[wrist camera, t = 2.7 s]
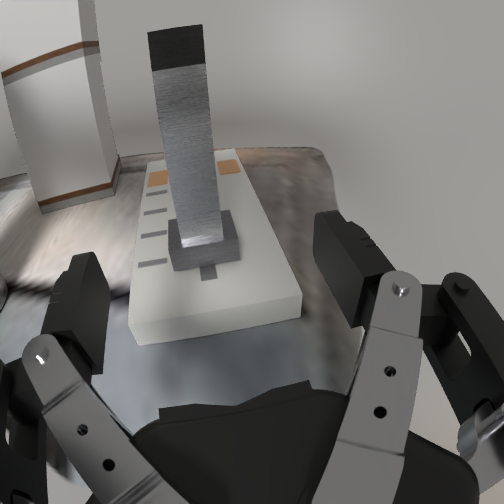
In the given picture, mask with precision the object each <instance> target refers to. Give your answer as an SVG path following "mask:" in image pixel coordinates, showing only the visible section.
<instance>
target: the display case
mask: <svg viewBox="0 0 504 504" xmlns="http://www.w3.org/2000/svg"><path fill="white" fill-rule="evenodd" d="M100 62H101V57H100V49H99V41H98V33H97V25H96V14H95V4H94V0H0V68H1V74H2V79H3V85H4V90H5V94H6V99H7V103H8V108H9V112H10V116H11V120H12V124H13V128H14V131H15V135H16V138H17V142H18V145H19V148H20V152H21V155H22V158H23V161H24V165H25V167H26V170H27V174H28V177H29V179H30V182H31V185H32V188H33V191H34V193H35V196H36V199H37V201H38V204H39V207H40V209H41V212H42V214H45V213H48V212H52V211H55V210H59V209H63V208H66V207H70V206H74V205H78V204H81V203H85V202H89V201H93V200H97V199H101V198H106V197H110V196H114V195H115V191H116V186H117V182H118V178H119V174H120V170H121V161H120V157H119V155H118V154H117V150H116V146H115V141H114V136H113V132H112V128H111V122H110V117H109V112H108V107H107V102H106V96H105V90H104V85H103V79H102V72H101V66H100Z"/></svg>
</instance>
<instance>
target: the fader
mask: <svg viewBox="0 0 504 504" xmlns="http://www.w3.org/2000/svg"><path fill="white" fill-rule="evenodd" d="M148 43H149V50H150V60H151V68H152V76H153V83H154V91H155V98H156V105H157V112H158V118H159V124H160V131H161V137H162V142H163V149H164V155H165V161H166V166H167V172H168V177H169V182H170V188H171V193H172V198H173V203H174V208H175V213H176V219H170V220H168V251H169V255H170V259H171V263H172V266H173V270H174V271H180V270H186V269H192V268H198V267H204V266H209V265H215V264H221V263H227V262H233V261H238V260H240V249H239V238H238V235H237V232H236V228H235V225H234V222H233V219H232V216H231V212H230V210H224V211H220V203H219V194H218V185H217V176H216V166H215V157H214V147H213V138H212V129H211V118H210V108H209V97H208V87H207V74H206V63H205V51H204V39H203V26H202V24H200V25H192V26H184V27H177V28H170V29H164V30H158V31H153V32H148Z"/></svg>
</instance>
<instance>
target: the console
mask: <svg viewBox="0 0 504 504" xmlns="http://www.w3.org/2000/svg"><path fill="white" fill-rule="evenodd" d="M214 157H215V166H216V176H217V185H218V194H219V203H220V211H224V210H230V212H231V216H232V219H233V222H234V225H235V228H236V232H237V235H238V238H239V249H240V260H238V261H233V262H227V263H221V264H215V265H209V266H204V267H198V268H192V269H186V270H180V271H174V270H173V266H172V263H171V259H170V255H169V251H168V220H170V219H176V213H175V208H174V203H173V198H172V193H171V188H170V182H169V177H168V172H167V166H166V161H165V159H164V160H159V161H153V162H148V165H147V171H146V176H145V182H144V187H143V193H142V200H141V206H140V213H139V219H138V227H137V234H136V242H135V250H134V259H133V268H132V278H131V289H130V302H129V316H128V326H129V328H130V330H131V332H132V334H133V335H134V337H135V339H136V341H137V343H138V345H139V346H142V345H149V344H156V343H163V342H170V341H176V340H183V339H189V338H195V337H201V336H207V335H213V334H218V333H224V332H229V331H235V330H240V329H245V328H251V327H256V326H261V325H266V324H270V323H275V322H280V321H285V320H289V319H294V318H299V317H300V315H301V305H302V295H303V294H302V291H301V289H300V287H299V285H298V283H297V280H296V278H295V276H294V274H293V272H292V270H291V267H290V265H289V263H288V261H287V259H286V257H285V254H284V252H283V250H282V248H281V246H280V244H279V241H278V239H277V237H276V235H275V233H274V231H273V229H272V227H271V224H270V222H269V220H268V218H267V216H266V214H265V212H264V210H263V208H262V205H261V203H260V201H259V199H258V197H257V195H256V193H255V191H254V189H253V187H252V185H251V182H250V180H249V178H248V176H247V174H246V172H245V170H244V168H243V166H242V164H241V162H240V160H239V158H238V156H237V154H236V152H235V150H234V149H228V150H221V151H214Z"/></svg>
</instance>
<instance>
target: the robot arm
mask: <svg viewBox="0 0 504 504" xmlns="http://www.w3.org/2000/svg"><path fill="white" fill-rule="evenodd" d="M313 255H314V259H315V262H316V264H317V266H318V268H319V270H320V271H321V273H322V275H323V277H324V279H325V280H326V282H327V284H328V286H329V288H330V290H331V291H332V293H333V295H334V297H335V299H336V301H337V302H338V304H339V306H340V308H341V310H342V312H343V314H344V316H345V317H346V319H347V321H348V323H349V325H350V327H351V328H355V327H358V326H363V328H364V329H365V333H364V336H363V339H362V343H361V347H360V350H359V354H358V357H357V360H356V364H355V367H354V370H353V374H352V377H351V380H350V383H349V385H348V388H347V391H346V394H345V395H344V394H341V393H337V392H334V391H328V390H319V389H312V387H311V385H310V382H309V380H307V381H303V382H299V383H295V384H291V385H287V386H283V387H279V388H275V389H271V390H269V391H267V392H265V393H263V394H261V395H259V396H257V397H255V398H253V399H250V400H248V401H246V402H244V403H242V404H239V405H236V406H223V405H207V404H189V405H182V406H175V407H167V408H159V418H160V419H157V420H155V421H153V422H151V423H149V424H147V425H146V426H144V427H143V428H141V429H140V430H139V431H138V432H136V433H135V434H134V435H133V433H132V432H131V431H130V430H129V429H128V428H127V427H126V426H125V425H124V424H123V423H122V422H121V420H120V419H119V418H118V417H117V416H116V415H115V413H114V412H113V411H112V410H111V408H110V407H109V406H108V405H107V403H106V402H105V401H104V400H103V398H102V397H101V396H100V394H99V393H98V392H97V391H96V389H95V388H94V387H93V385H92V384H91V377H92V375H97V374H103V363H104V351H105V341H106V331H107V322H108V314H109V307H110V289H109V285H108V283H107V280H106V278H105V276H104V274H103V271H102V269H101V267H100V264H99V262H98V260H97V257H96V255H95V254H94V252H88V253H83V254H78V255H74V256H73V257H72V260H71V263H70V266H69V269H68V271H64V272H63V273H62V274H61V275H60V277H59V278H58V279H57V281H56V282H55V285H54V289H53V292H52V295H51V298H50V301H49V302H50V304H49V305H48V308H47V312H46V315H45V319H44V322H43V326H42V330H41V333H40V335H39V336H37V337H35V338H33V339H32V340H31V341H30V342H29V343H28V344H27V345H26V347H25V349H24V351H23V354H22V357H21V358H19V359H17V360H14V361H12V362H10V363H7V364H4V363H3V361H2V360H1V359H0V504H48V493H47V475H46V474H47V472H46V432H47V424H48V426H49V428H50V429H51V431H52V433H53V434H54V436H55V438H56V439H57V441H58V443H59V444H60V446H61V447H62V449H63V451H64V452H65V454H66V455H67V457H68V458H69V460H70V461H71V463H72V464H73V466H74V467H75V469H76V470H77V472H78V473H79V474H80V476H81V477H82V479H83V480H84V481H85V483H86V484H87V485H88V487H89V488H90V489H91V491H92V492H93V494H92V495H91V496H90V498H89V499H88V501H87V502H86V504H479V495H480V494H481V493H483V492H484V491H486V490H487V489H489V488H490V487H492V486H493V485H495V484H496V483H497V482H499V481H500V480H502V479H503V478H504V321H503V320H502V318H501V317H500V315H499V314H498V313H497V311H496V310H495V308H494V307H493V306H492V304H491V303H490V302H489V300H488V299H487V297H486V296H485V295H484V293H483V292H482V291H481V290H480V288H479V287H478V286H477V284H476V283H475V282H474V281H473V280H472V279H471V278H469V277H468V276H466V275H464V274H461V273H456V272H455V273H449V274H447V275H446V276H445V277H444V279H443V281H442V284H441V285H426V284H420V282H419V281H418V279H416V278H415V277H414V276H413V275H411V274H409V273H407V272H403V271H396V269H395V268H394V267H393V265H392V264H391V263H390V262H389V260H388V259H387V258H386V257H385V255H384V254H383V253H382V251H381V250H380V249H379V248H378V246H376V244H375V243H374V241H373V240H372V239H370V236H369V235H368V234H367V233H366V231H365V230H364V229H363V228H362V227H360V226H358V225H357V224H355V223H353V222H352V221H350V222H346V220H345V219H344V218H343V217H342V215H341V214H340V213H339V212H338V211H337V210H333V211H326V212H320V213H316V215H315V222H314V237H313ZM6 296H7V284H6V282H5V280H4V279H3V277H2V275H1V274H0V310H1V309H2V307H3V305H4V302H5V300H6ZM459 331H460V332H461V334H462V336H463V337H464V339H465V341H466V342H467V344H468V346H469V347H470V350H471V356H470V354H469V353H468V351H467V349H466V348H465V346H464V344H463V343H462V341H461V339H460V338H459V336H458V332H459ZM422 349H423V351H424V353H425V354H426V356H427V358H428V360H429V362H430V364H431V366H432V367H433V370H434V372H435V374H436V376H437V378H438V379H439V381H440V383H441V385H442V387H443V390H444V392H445V394H446V396H447V398H448V400H449V402H450V404H451V406H452V408H453V410H454V412H455V415H456V417H457V419H458V421H459V423H460V429H459V431H458V443H457V450H458V452H459V453H460V456H458V455H456V454H454V453H452V452H450V451H448V450H446V449H444V448H442V447H440V446H438V445H436V444H434V443H432V442H430V441H428V440H426V439H424V438H422V437H421V436H419V435H417V434H415V433H413V432H411V431H410V430H409V426H410V421H411V417H412V411H413V406H414V401H415V396H416V390H417V384H418V378H419V371H420V364H421V357H422ZM7 414H8V415H9V416H10V417H11V421H10V432H9V445H8V444H7V441H6V437H5V432H6V421H7Z"/></svg>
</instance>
